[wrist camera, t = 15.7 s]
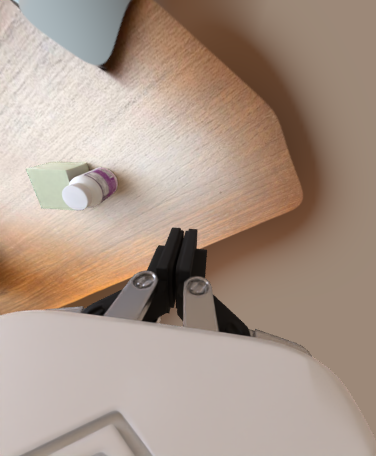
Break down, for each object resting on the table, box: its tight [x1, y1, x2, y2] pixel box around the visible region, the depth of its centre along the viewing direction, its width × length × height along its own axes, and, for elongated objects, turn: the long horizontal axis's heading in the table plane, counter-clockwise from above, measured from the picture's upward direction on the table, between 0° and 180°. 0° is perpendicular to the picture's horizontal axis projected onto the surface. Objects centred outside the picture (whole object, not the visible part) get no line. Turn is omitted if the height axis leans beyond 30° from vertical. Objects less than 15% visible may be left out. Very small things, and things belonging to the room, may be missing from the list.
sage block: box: [26, 162, 89, 211], centre depth 35 cm, size 7×7×6 cm
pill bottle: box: [62, 167, 118, 210], centre depth 33 cm, size 5×5×10 cm
